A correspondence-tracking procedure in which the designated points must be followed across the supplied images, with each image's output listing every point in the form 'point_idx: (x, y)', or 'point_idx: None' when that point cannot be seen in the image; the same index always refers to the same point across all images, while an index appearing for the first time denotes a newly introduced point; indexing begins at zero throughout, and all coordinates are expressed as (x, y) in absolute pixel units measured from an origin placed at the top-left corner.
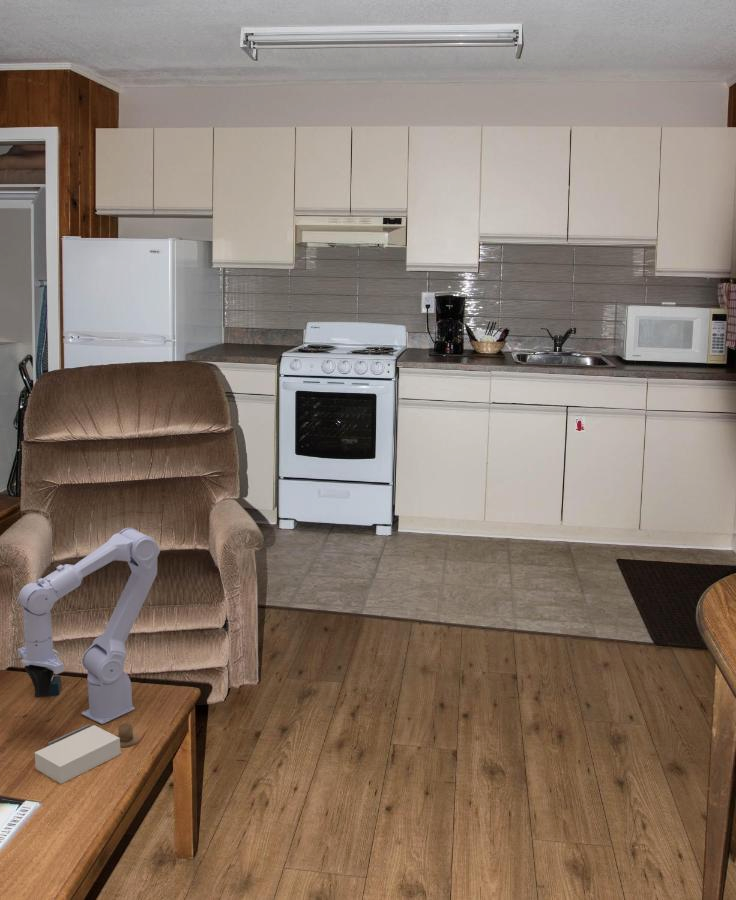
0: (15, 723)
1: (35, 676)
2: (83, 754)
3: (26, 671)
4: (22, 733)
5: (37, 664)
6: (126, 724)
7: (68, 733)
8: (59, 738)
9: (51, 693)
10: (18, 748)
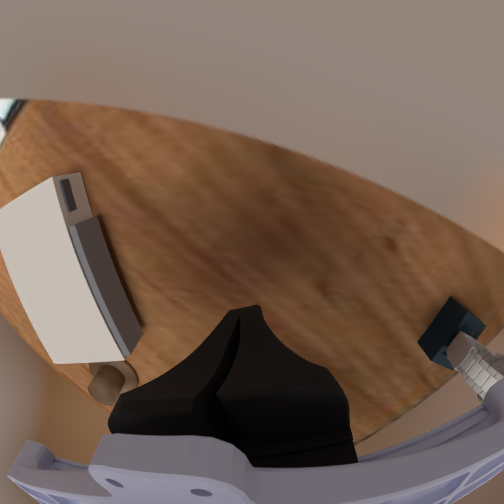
0: (369, 205)
1: (170, 381)
2: (12, 278)
3: (309, 364)
4: (296, 199)
5: (81, 479)
6: (109, 400)
7: (100, 294)
8: (83, 262)
9: (430, 332)
10: (209, 158)
